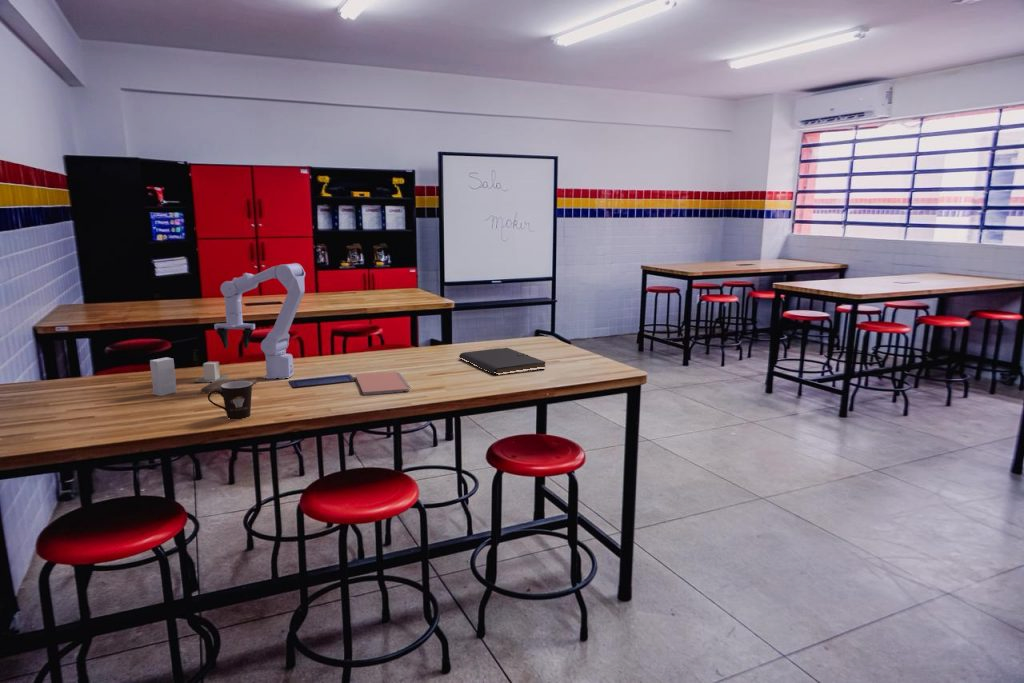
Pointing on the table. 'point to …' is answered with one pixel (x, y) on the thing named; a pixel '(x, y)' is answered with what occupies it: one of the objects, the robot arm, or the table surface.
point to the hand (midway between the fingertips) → (236, 347)
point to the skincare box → (163, 376)
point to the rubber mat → (210, 380)
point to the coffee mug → (235, 399)
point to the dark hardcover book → (501, 360)
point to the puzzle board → (217, 385)
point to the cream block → (211, 370)
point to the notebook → (382, 383)
